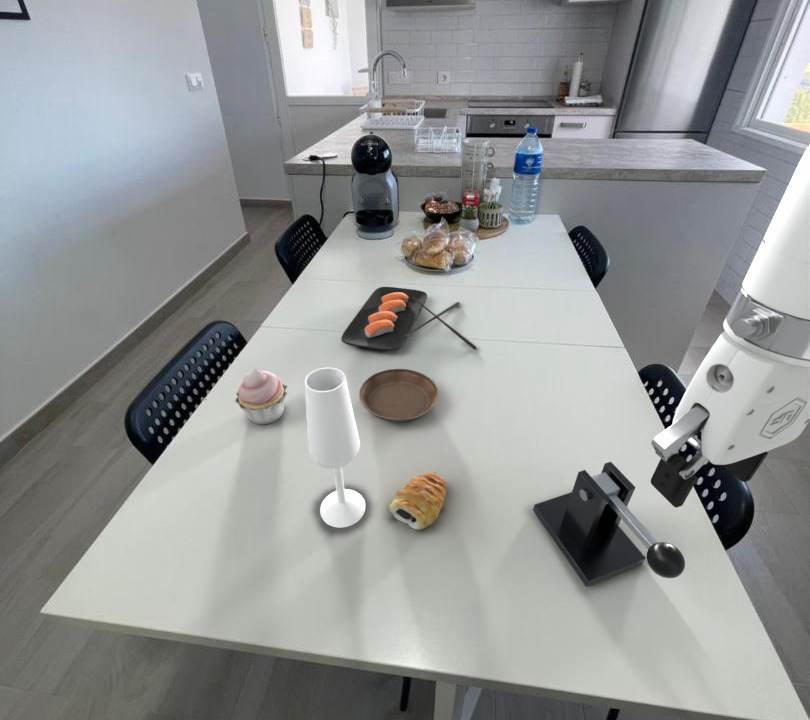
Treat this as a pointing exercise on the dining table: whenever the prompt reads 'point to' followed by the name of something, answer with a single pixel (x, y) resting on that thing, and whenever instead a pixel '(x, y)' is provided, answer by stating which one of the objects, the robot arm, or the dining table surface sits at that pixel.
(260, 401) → the cupcake
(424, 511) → the pastry
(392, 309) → the sushi plate
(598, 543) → the black bracket piece
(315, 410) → the champagne flute
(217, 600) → the dining table surface
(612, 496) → the tap lever
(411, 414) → the saucer
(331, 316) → the dining table surface
